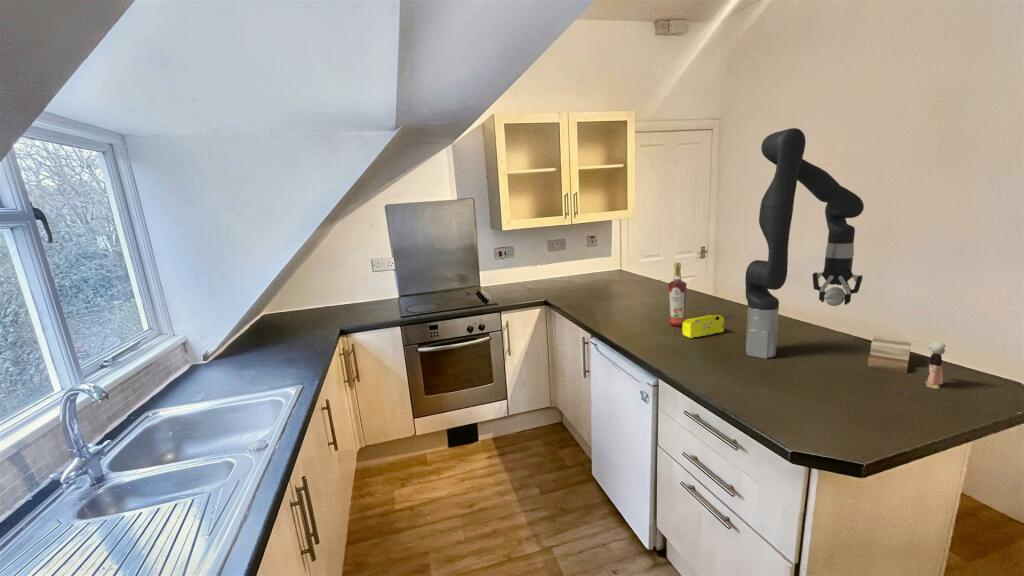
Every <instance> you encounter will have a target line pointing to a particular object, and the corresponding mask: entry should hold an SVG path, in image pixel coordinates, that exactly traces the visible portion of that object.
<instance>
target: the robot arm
mask: <svg viewBox="0 0 1024 576" xmlns="http://www.w3.org/2000/svg"><path fill="white" fill-rule="evenodd" d="M760 147H761V149H760V150H761V153H762V155H763V156H764V158H765V159H767V160H768V161H769V162H771V163H772V164H774V165H775V166H776V169H775V172H774V175H773V179H772V180H771V183H770V184H769V186H768V188H767V190H766V191H765V193H764V194H763V197H762V199H761V201H760V202H761V203H760V208H759V215H758V223H759V227H760V229H761V232H762V234H763V236H764V239H765V240H766V244H767V248H768V249H767V250H768V257H767V258H768V259H767V260H761V259H755V260H753V261H751V262H749V264H748V266H747V268H746V271H745V298H746V301H747V313H746V338H745V353H746V356H749V357H750V356H751V357H755V358H760V359H769V358H770V359H771V358H773V357H776V355H777V343H778V342H777V340H778V326H779V325H778V323H779V312H780V311H779V309H780V308H779V306H780V301H779V299H778V298H777V297H776V296H774V295H773V294H772V293H770V291H769V290H772V291H776V290H779V289H781V288H782V287H783V286H784V285H785V282H786V281H787V277H788V265H789V257H788V256H789V242H790V233H791V225H792V220H793V212H794V206H795V205H794V203H795V197H796V190H797V186H798V185H797V184H798V183H797V182H799V183H800V184H801V185H802V186H804V187H805V188H806V189H807V190H808V191H809V192H810V193H811V194H812V195H813V196H814V197H815V198H816V199H817V200H819V202H822V203H826V205H825V209H824V214H825V219H826V220H825V221H826V226H827V228H828V236H827V244H826V248H825V258H824V268H823V271H822V272H818V271H815V272H813V273H812V284H813V285H812V286H813V289H814V290H816V291H819V295H818V300H819V301H820V302H821V303H824V302H825V301H826V300H825V298H824V295H825V293H826V289H827V287H828V286H829V285H830V286H831V285H837V286H842V289H843V290H844V292H845V299H844V301H843V303H844V305H846V306H847V305H848V304H850V302H851V301H852V299H851V298H852V294H857V293H858V292H859V291H860V287H861V284H862V281H863V278H864V277H863V275H862V274H860V275H859V274H858V275H857V274H853V271H852V270H853V262H854V261H853V260H854V256H855V253H854V252H855V243H854V242H855V233H856V229H855V226H853V225H851V224H849V223H848V222H847V219H854V218H857V217H859V216H860V215H862V213H863V212H864V209H865V208H864V207H865V206H864V202H863V200H862V198H861V197H860V196H858V195H857V193H854V192H853V191H851V190H849V189H848V188H845V187H843V186H842V185H840V183H839V182H838V181H836V179H835V178H834V177H833V176H832V175H831V174H829V172H827V171H826V170H824V169H823V168H821V167H820V166H817V165H815V164H813V163H811V162H809V161H807V160H806V159H804V158H803V157H804V154H805V150H806V149H805V148H806V136H805V133H804V132H803V130H801V129H800V128H797V127H792V128H787V129H784V130H780V131H776V132H773V133H771V134H769V135H767V136H766V137H765V138H764V139H763V141H762V143H761V146H760ZM821 277H823V279H824V280H825V281H824V283H823V284H822V286H820V283H819V282H820V281H819V279H821ZM852 278H853V281H854V282H855V284H854V288H851V287H850V284H849V282H848V281H850V280H851V279H852Z"/></svg>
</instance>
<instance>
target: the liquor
mask: <svg viewBox="0 0 1024 576" xmlns="http://www.w3.org/2000/svg"><path fill="white" fill-rule="evenodd" d="M673 266H674V274H673V280H672V281H670V282H668V301H669V321H668V323H669V324H670V325H671V326H672V325H674V326H673V327H676V326H680V327H682V323H683V322H684V321H685V320H686V319H685V317H686V315H685V314H686V299H687V298H686V297H687V283H686V282H685V281H684V280H682V275H681V268H682V264H681V262H674V263H673Z"/></svg>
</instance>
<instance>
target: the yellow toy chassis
mask: <svg viewBox="0 0 1024 576" xmlns="http://www.w3.org/2000/svg"><path fill="white" fill-rule="evenodd" d="M681 327H682V330H681V332H682V334H681V335H682V336H684V337H687V338H689V339H695V338H694V337H697V338H699V337H703V336H705V337H707V336H709V335H711V336H712V335H716V334H715V333H717V334H720V333H723V332H724V330H725V329H724V328H725V318H724V316H722V315H721V314H716V315H712V314H709V315H704V316H703V315H702V316H699V317H693V318H687V319H685V321H684V322H683V323H682V326H681Z"/></svg>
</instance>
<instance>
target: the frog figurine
mask: <svg viewBox="0 0 1024 576" xmlns="http://www.w3.org/2000/svg"><path fill="white" fill-rule="evenodd" d="M845 294H846V291H845V290H844V288H840V287H838V286H833V287H830V288H829V289H828V290H825V295H824V298H825V300H824V301H825V302H826V304H827V305H829V306H832V307H838V306H840V305H842V304H843V303H844V302H845Z"/></svg>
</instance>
